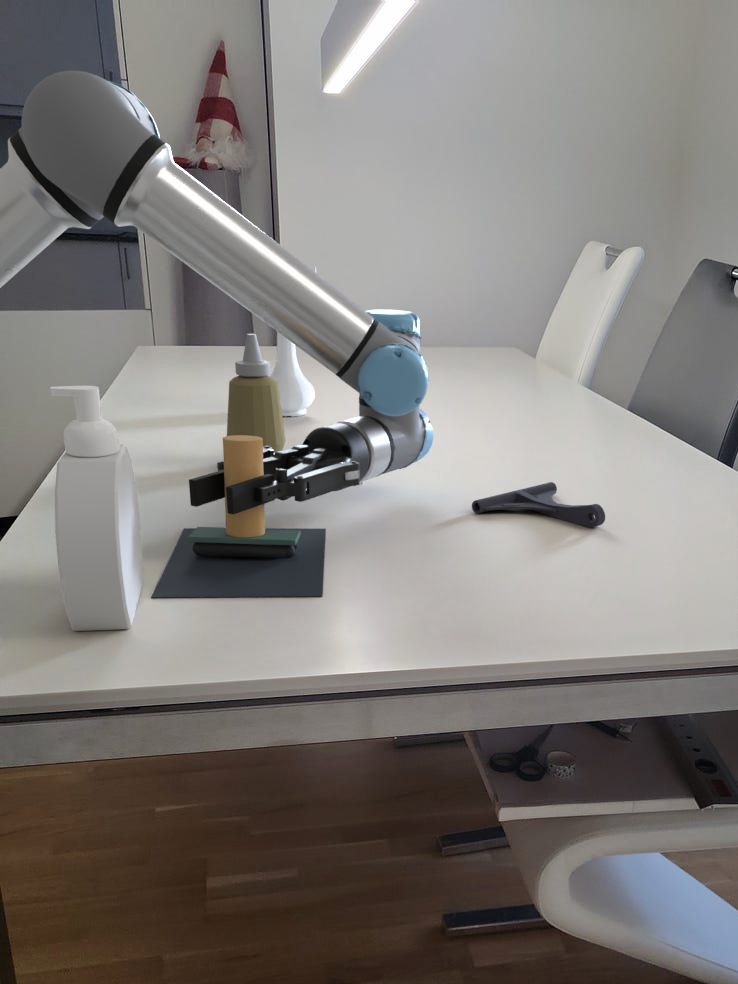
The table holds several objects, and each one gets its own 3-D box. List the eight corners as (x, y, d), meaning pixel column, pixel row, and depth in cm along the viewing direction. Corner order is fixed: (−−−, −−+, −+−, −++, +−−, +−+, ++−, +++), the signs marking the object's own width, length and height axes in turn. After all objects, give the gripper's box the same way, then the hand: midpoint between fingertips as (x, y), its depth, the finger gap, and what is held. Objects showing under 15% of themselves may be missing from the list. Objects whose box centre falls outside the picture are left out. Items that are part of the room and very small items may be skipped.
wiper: (189, 557, 107) (183, 439, 103) (198, 546, 112) (193, 432, 108) (295, 560, 108) (294, 443, 104) (300, 549, 112) (299, 436, 108)
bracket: (562, 540, 119) (564, 517, 118) (471, 512, 129) (472, 490, 127) (636, 519, 129) (639, 497, 128) (547, 494, 138) (548, 473, 137)
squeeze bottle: (258, 456, 151) (253, 329, 144) (298, 466, 147) (294, 335, 140) (215, 466, 145) (207, 333, 138) (255, 476, 140) (249, 339, 133)
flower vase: (253, 425, 171) (246, 265, 161) (252, 404, 188) (245, 258, 178) (332, 424, 174) (330, 267, 164) (324, 404, 190) (321, 260, 180)
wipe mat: (151, 598, 98) (151, 597, 97) (183, 529, 118) (183, 528, 118) (322, 596, 100) (322, 595, 100) (325, 529, 120) (325, 528, 120)
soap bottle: (89, 578, 102) (65, 372, 94) (145, 577, 103) (126, 372, 95) (62, 642, 87) (32, 405, 79) (128, 640, 88) (104, 405, 80)
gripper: (406, 496, 120) (281, 547, 101) (287, 474, 127) (149, 518, 108) (407, 432, 117) (278, 472, 98) (285, 413, 125) (143, 448, 105)
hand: (211, 496), depth 103 cm, fingers closed on wiper, 4 cm apart
